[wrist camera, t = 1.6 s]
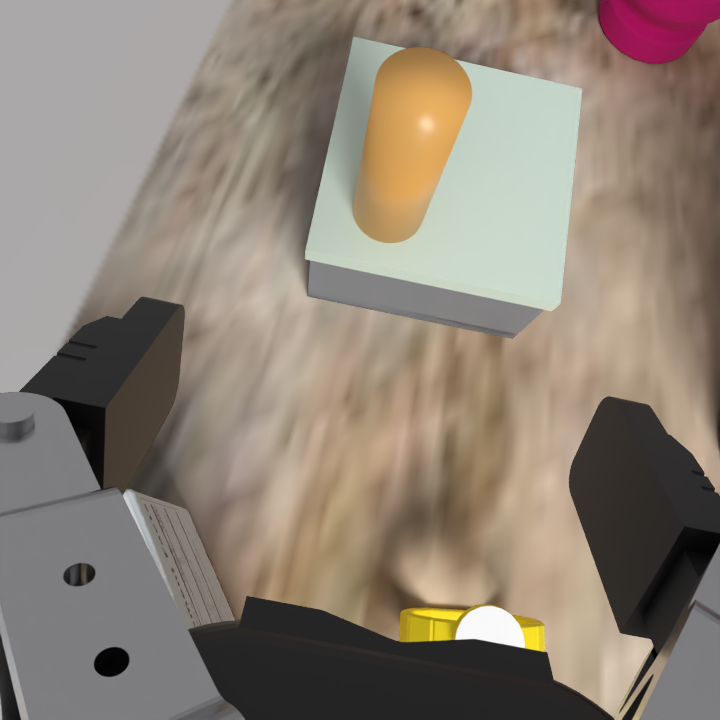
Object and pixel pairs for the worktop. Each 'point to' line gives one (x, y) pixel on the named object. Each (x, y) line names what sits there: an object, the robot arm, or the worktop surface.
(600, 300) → the worktop surface
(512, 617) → the watch
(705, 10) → the pepper mill
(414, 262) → the lid
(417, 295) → the parts tub
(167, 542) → the supplement box
